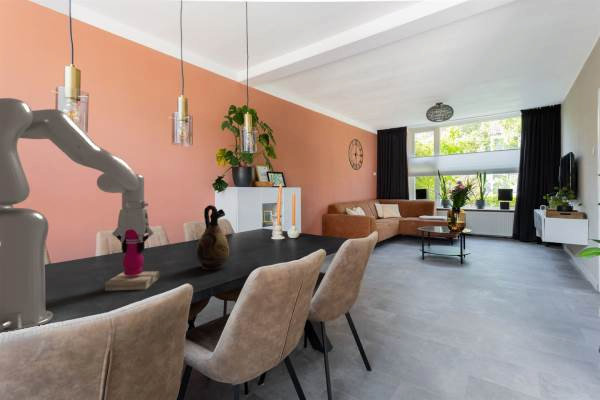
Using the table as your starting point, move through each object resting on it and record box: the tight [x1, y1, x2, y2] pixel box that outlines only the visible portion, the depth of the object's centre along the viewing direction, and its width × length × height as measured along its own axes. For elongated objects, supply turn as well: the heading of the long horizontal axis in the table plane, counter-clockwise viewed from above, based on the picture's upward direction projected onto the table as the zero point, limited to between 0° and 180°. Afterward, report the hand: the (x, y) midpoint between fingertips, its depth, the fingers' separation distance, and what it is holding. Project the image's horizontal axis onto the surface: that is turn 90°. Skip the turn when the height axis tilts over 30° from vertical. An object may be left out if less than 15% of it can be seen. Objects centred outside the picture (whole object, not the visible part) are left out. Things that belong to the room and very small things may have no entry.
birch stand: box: [104, 270, 160, 292], centre depth 114 cm, size 14×14×3 cm
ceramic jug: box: [195, 204, 230, 271], centre depth 139 cm, size 17×15×30 cm
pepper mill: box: [122, 229, 145, 275], centre depth 113 cm, size 7×7×20 cm
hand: (133, 251), depth 113 cm, fingers closed on pepper mill, 5 cm apart
